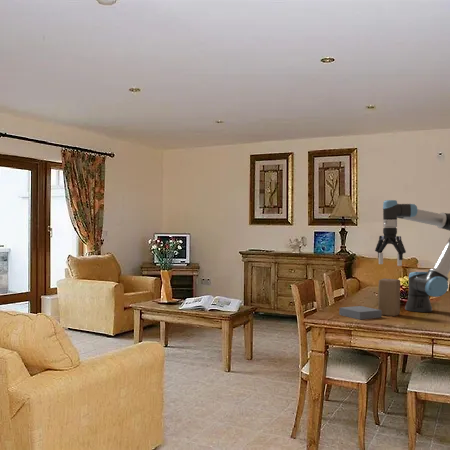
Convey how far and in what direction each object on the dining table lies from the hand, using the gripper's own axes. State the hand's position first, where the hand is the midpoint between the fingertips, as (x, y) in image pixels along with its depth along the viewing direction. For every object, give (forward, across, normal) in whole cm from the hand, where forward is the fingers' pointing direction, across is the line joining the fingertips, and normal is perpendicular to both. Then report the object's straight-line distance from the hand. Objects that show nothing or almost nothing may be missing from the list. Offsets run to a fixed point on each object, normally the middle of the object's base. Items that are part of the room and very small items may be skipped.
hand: (390, 265), depth 296 cm
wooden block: (+28, -1, 0) cm, 29 cm away
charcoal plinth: (+28, -4, -19) cm, 34 cm away
